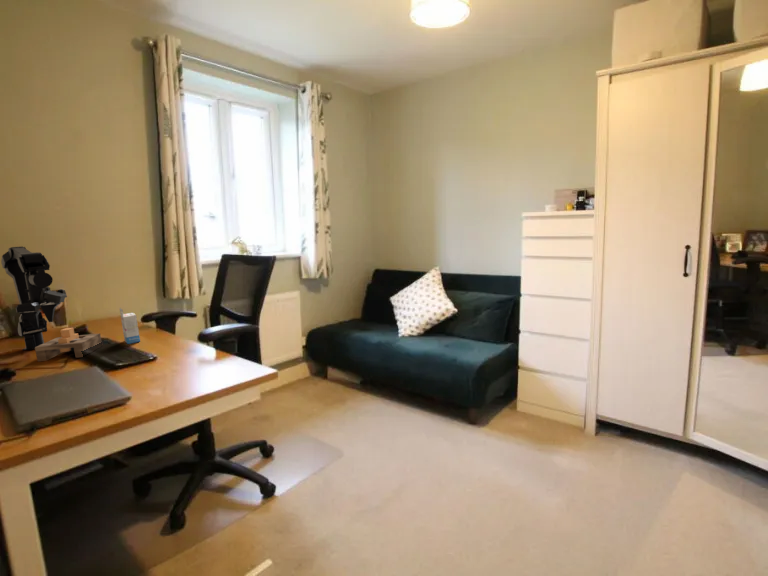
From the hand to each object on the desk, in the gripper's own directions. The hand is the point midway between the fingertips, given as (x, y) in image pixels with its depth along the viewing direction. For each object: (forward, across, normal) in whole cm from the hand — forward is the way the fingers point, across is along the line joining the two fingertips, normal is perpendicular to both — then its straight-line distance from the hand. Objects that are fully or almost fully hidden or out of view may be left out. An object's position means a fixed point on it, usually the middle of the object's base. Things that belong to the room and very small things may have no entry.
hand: (44, 324), depth 163 cm
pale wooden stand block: (+10, -2, -9) cm, 13 cm away
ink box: (+12, +8, -27) cm, 31 cm away
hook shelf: (+12, -2, -9) cm, 15 cm away
